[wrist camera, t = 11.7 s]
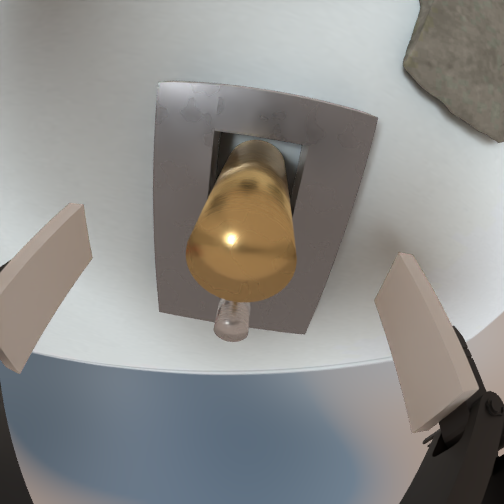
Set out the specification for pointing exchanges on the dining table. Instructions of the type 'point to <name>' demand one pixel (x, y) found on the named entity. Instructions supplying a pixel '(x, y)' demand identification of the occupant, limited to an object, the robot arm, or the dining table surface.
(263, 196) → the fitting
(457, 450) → the robot arm
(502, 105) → the stone
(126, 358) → the dining table surface
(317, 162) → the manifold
